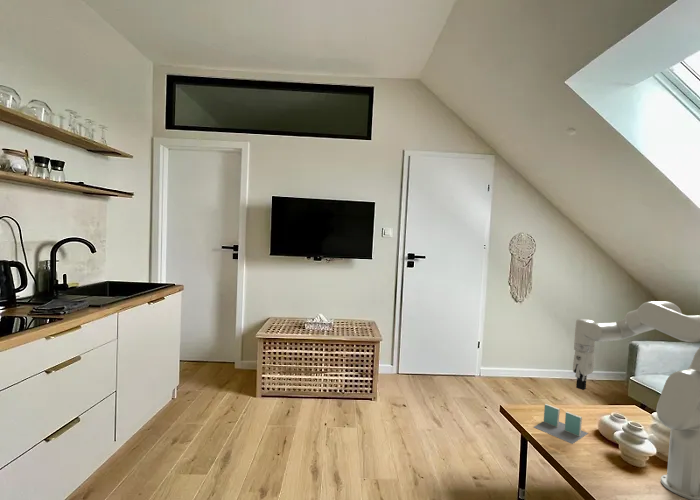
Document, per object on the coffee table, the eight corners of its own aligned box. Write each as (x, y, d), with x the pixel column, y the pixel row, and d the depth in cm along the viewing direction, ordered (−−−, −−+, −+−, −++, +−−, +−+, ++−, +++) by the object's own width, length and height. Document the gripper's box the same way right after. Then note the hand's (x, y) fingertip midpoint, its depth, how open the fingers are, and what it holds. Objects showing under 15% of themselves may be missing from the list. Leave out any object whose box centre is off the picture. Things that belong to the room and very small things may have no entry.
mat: (588, 434, 162) (588, 433, 162) (572, 445, 152) (572, 443, 152) (550, 419, 175) (550, 418, 175) (533, 428, 165) (533, 427, 165)
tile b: (558, 426, 167) (559, 408, 166) (557, 427, 166) (558, 409, 166) (544, 420, 171) (545, 403, 171) (543, 421, 171) (544, 404, 170)
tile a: (580, 435, 159) (581, 417, 159) (579, 436, 159) (580, 417, 158) (565, 429, 164) (566, 411, 164) (564, 430, 163) (565, 412, 163)
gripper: (586, 352, 157) (583, 395, 157) (600, 347, 166) (597, 388, 166) (567, 347, 163) (564, 389, 163) (581, 343, 172) (578, 382, 172)
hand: (580, 388), depth 165 cm, fingers closed
